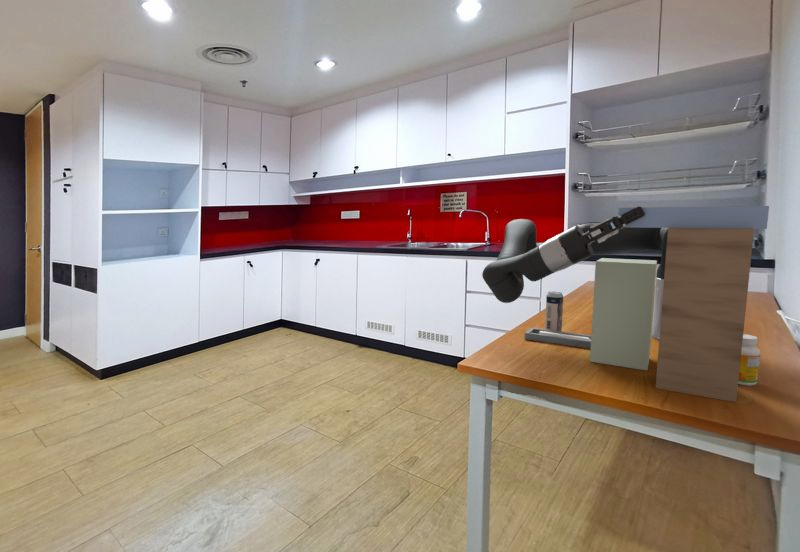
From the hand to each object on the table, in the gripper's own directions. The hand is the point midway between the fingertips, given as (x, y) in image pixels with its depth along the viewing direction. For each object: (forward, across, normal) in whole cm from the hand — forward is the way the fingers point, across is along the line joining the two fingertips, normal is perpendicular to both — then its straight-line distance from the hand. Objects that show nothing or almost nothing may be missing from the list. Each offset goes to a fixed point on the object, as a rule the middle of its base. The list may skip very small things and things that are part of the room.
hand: (643, 210), depth 90 cm
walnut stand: (-8, 0, -36) cm, 37 cm away
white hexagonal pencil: (-33, -22, -22) cm, 46 cm away
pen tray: (-33, -22, -22) cm, 45 cm away
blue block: (+5, 0, -7) cm, 8 cm away
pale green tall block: (-21, -12, -29) cm, 38 cm away
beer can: (-38, -31, -19) cm, 53 cm away
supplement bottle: (-1, -10, -41) cm, 42 cm away
